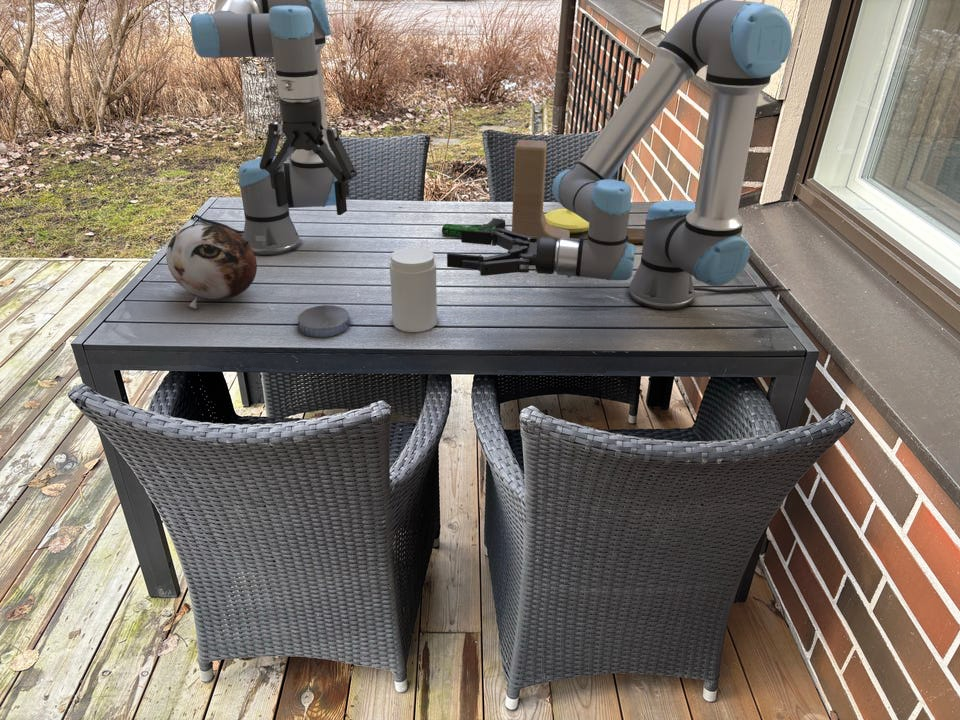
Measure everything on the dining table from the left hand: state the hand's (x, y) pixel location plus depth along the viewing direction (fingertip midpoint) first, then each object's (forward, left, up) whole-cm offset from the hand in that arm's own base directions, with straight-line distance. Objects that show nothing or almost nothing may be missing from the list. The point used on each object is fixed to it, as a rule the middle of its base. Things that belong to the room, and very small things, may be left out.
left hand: (311, 209), depth 144 cm
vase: (+17, +85, -26) cm, 91 cm away
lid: (0, 0, -25) cm, 25 cm away
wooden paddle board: (+40, +92, -26) cm, 104 cm away
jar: (+15, +13, -26) cm, 33 cm away
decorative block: (+20, +61, -26) cm, 69 cm away
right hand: (+24, +16, -8) cm, 30 cm away
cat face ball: (-31, -4, -26) cm, 41 cm away
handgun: (-4, +67, -26) cm, 72 cm away
